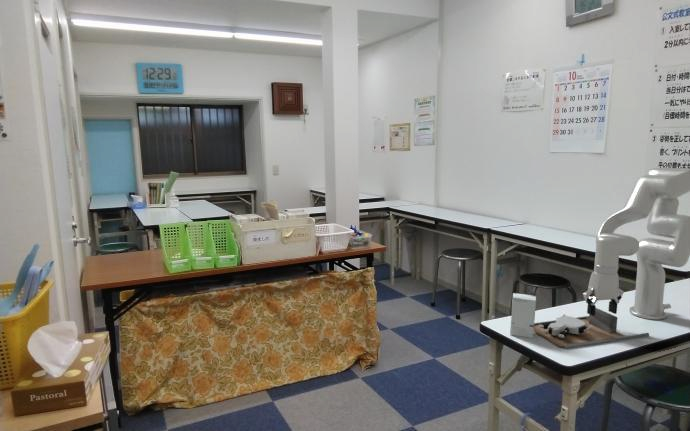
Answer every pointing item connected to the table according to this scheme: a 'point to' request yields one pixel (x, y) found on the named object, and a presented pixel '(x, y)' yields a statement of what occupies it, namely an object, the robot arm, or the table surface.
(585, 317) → the guide rails
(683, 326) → the table surface
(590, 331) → the brown rectangular mat
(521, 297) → the skincare box
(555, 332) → the robot toy
